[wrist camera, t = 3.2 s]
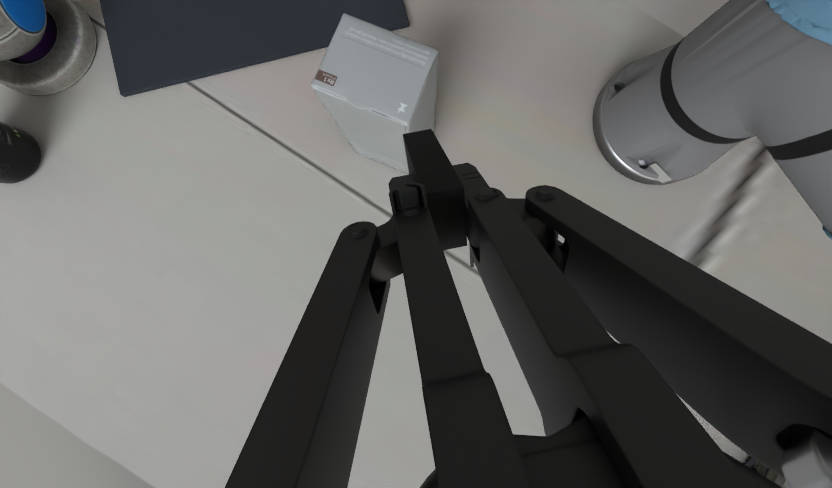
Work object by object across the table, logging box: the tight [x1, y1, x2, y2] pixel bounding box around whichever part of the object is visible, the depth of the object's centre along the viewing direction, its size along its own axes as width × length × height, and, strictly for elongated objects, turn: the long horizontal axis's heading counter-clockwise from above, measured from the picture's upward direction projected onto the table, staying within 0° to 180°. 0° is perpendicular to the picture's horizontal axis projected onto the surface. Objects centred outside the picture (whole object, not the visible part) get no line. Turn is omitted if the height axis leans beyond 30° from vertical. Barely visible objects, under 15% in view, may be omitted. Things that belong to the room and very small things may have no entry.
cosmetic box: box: [311, 13, 438, 174], centre depth 32 cm, size 8×7×16 cm
